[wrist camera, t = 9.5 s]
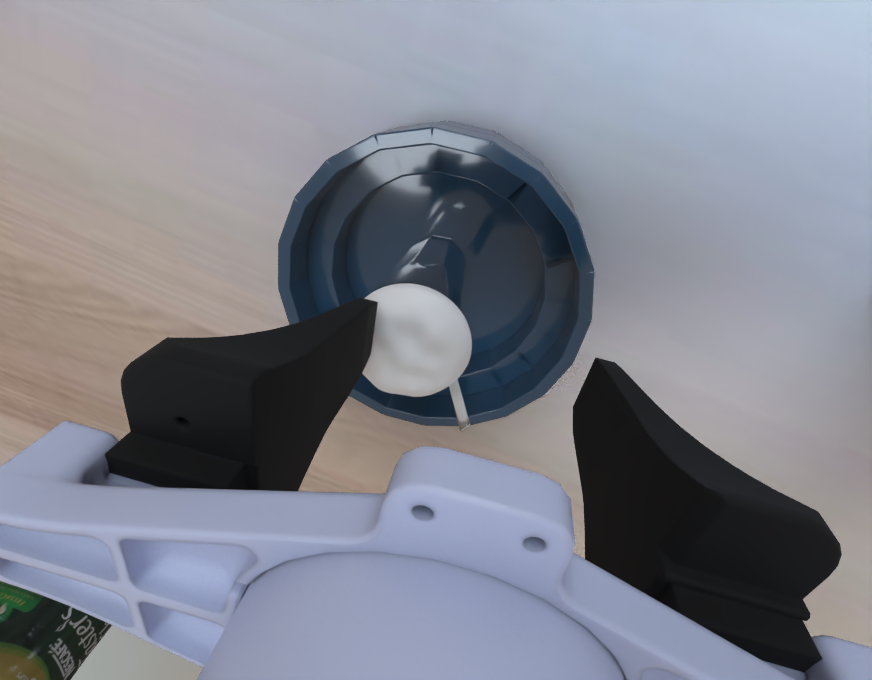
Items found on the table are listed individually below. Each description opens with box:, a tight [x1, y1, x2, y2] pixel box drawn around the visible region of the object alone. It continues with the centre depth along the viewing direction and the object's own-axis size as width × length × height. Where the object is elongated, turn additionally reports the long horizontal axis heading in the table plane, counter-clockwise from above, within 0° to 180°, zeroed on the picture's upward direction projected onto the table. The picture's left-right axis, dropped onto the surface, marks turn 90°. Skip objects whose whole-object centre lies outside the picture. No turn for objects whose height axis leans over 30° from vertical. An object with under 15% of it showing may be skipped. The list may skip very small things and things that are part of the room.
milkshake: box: [362, 237, 472, 431], centre depth 19 cm, size 5×5×10 cm
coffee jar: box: [0, 581, 112, 680], centre depth 31 cm, size 10×8×19 cm
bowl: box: [278, 121, 594, 426], centre depth 22 cm, size 14×14×4 cm
